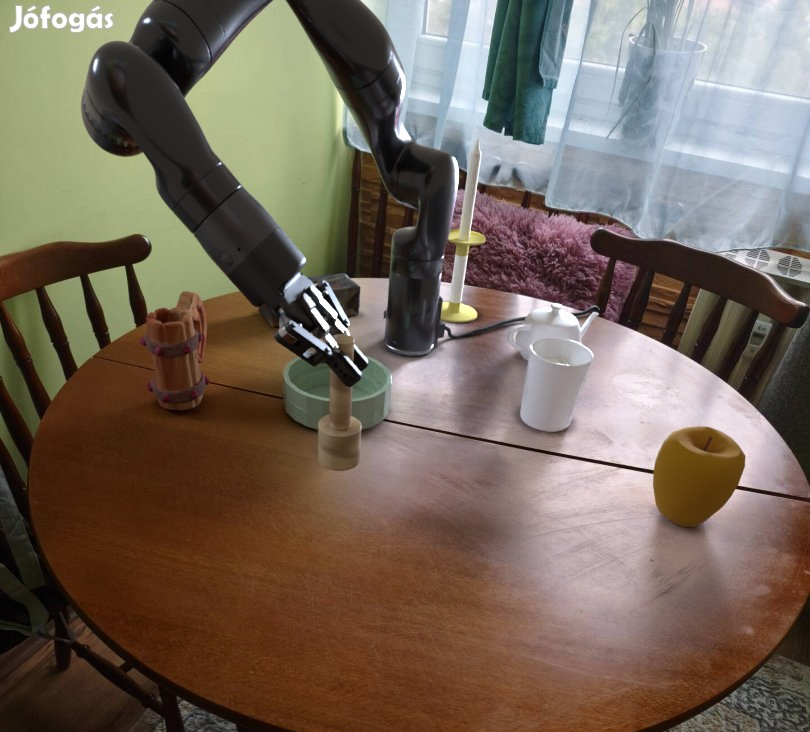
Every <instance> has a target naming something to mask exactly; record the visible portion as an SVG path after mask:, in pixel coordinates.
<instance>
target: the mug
mask: <svg viewBox="0 0 810 732" xmlns="http://www.w3.org/2000/svg"><path fill="white" fill-rule="evenodd" d="M145 320H146V327H147V328H146V329H147V331H146V332H145V333H144V335H143V336H142V337H141V338H140V339H139V344H140V345H142V346H144V347H145V348H146V349H147V350H148V352H150V355H151V356H150V357H151V361H152V366H153V372H154V375H153V376H152V378H151V380H150V382H148V383H147V384H146V385H145V388H146V389H147V391H149V392H150V393H153V395H154V396H155V398H156V399H157V400H158V404H159V405H160V406H161V407H162V408H164V409H167V410H171V411H187V410H191V409H194V408H196V407H197V406H198V405H200V404H201V402H202V400H203V397H204V396H203V395H204V392H205V391H206V387H207V385H209V383H210V378H209V377H208V376H206V375H205V374H204V372H203V371H202V370H201V369H200V365H199V364H202V363H203V362H204V355H205V351H206V345H207V334H208V333H207V332H208V331H207V329H208V323H207V320H208V319H207V313H206V308H205V306H204V302H203V301H202V298H201V297H200V295H199V294H198V292H194V291H188V290H184V291H182V292H181V293H180V294H179V297H178V300H177V302H176V305H175V307H172V308H170V309H168V307H160V308H157V309H155V310H154V312H152V311H149V313H147V315H146V317H145Z"/></svg>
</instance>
